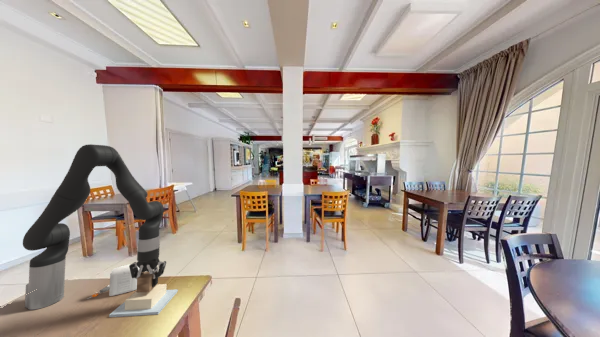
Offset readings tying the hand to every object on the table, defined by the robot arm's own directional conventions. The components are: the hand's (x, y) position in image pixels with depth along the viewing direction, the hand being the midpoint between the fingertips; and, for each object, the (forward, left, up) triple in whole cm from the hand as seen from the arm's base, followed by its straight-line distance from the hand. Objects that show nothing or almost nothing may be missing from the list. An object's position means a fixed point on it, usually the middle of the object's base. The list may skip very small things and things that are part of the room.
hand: (147, 286), depth 79 cm
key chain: (-26, +9, -8) cm, 29 cm away
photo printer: (-16, +9, -8) cm, 20 cm away
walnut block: (0, 0, -1) cm, 1 cm away
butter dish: (0, 0, -7) cm, 7 cm away
